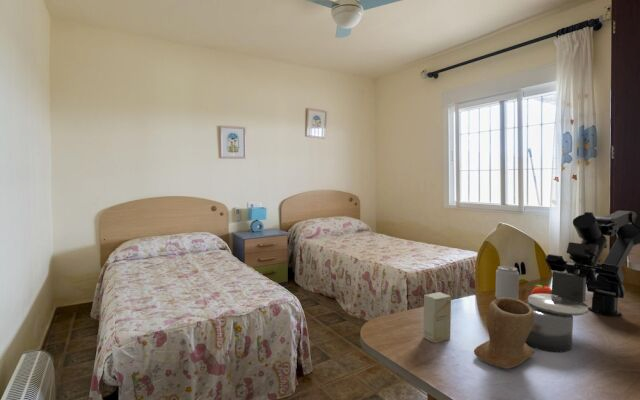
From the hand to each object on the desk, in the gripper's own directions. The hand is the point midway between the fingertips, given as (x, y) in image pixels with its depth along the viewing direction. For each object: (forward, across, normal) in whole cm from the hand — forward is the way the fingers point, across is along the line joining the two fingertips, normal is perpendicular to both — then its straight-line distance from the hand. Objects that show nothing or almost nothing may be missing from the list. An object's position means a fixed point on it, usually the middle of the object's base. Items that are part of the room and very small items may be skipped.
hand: (571, 290), depth 103 cm
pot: (+19, -4, -3) cm, 20 cm away
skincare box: (+36, -16, -19) cm, 44 cm away
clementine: (-1, -14, +17) cm, 22 cm away
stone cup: (+32, +1, -15) cm, 35 cm away
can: (+3, -24, +14) cm, 28 cm away
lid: (+8, 0, -4) cm, 9 cm away
